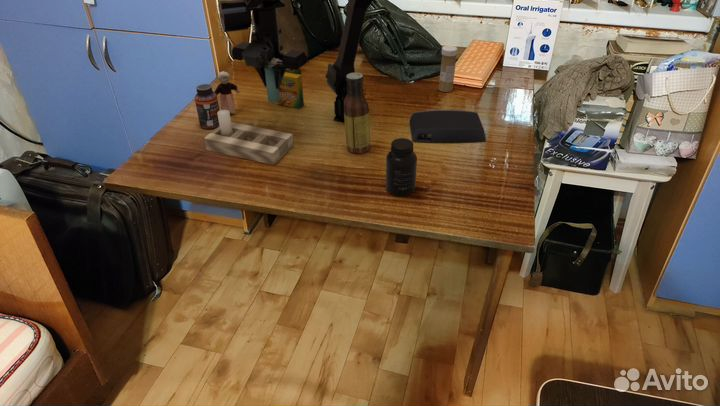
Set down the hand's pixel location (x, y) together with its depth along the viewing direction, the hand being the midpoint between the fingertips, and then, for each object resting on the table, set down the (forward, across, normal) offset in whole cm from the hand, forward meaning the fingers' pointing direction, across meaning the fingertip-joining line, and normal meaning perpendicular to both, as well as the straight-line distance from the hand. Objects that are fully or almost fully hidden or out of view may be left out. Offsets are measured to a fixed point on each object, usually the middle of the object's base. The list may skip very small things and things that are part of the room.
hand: (272, 87), depth 135 cm
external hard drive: (+13, +43, +17) cm, 48 cm away
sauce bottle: (+13, +24, 0) cm, 27 cm away
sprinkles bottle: (+12, +35, +43) cm, 57 cm away
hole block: (+13, -2, -10) cm, 17 cm away
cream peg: (+13, -8, -10) cm, 19 cm away
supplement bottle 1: (+13, -19, -4) cm, 23 cm away
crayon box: (+13, -4, +16) cm, 21 cm away
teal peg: (+4, 0, 0) cm, 4 cm away
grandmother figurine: (+13, -18, +4) cm, 23 cm away
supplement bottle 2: (+13, +40, -13) cm, 44 cm away
